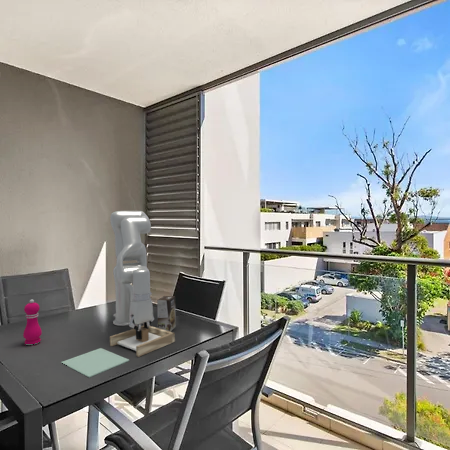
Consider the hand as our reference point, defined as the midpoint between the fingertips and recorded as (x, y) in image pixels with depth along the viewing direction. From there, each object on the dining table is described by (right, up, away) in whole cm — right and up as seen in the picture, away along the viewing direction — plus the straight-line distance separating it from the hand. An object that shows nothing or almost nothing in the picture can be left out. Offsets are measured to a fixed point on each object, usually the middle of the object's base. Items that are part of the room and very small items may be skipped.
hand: (142, 337), depth 149 cm
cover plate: (0, -2, 0) cm, 2 cm away
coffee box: (+8, -3, +18) cm, 20 cm away
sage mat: (-14, -4, -18) cm, 23 cm away
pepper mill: (-50, -4, +2) cm, 50 cm away
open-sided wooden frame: (0, -3, 0) cm, 3 cm away
